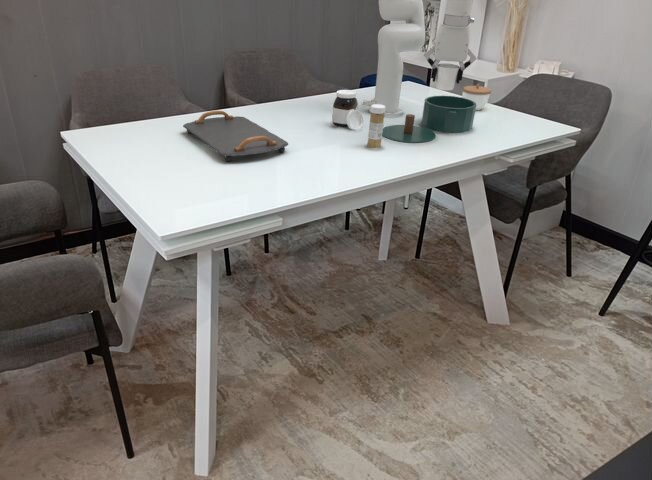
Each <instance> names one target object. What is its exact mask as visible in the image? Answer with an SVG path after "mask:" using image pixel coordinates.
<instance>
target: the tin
mask: <svg viewBox="0 0 652 480" xmlns="http://www.w3.org/2000/svg"><path fill="white" fill-rule="evenodd" d="M423 102H424V103H423V109H422V114H421V121H420V123H421V127H423V128H426V129H429V130H431V131H433V132H437V133H445V134H446V133H447V134H462V133H463V134H464V133H467V132H470V131H471V130H473V125H474V120H475V115H476V111H477V110H476V103H475V102H474V101H472V100H469V99H466V98H462V96H455V95H433V96H428V97H426V98H424V101H423Z"/></svg>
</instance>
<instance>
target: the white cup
mask: <svg viewBox="0 0 652 480" xmlns="http://www.w3.org/2000/svg"><path fill="white" fill-rule="evenodd" d="M459 67H460V65H458V64H453V63H438V65H437V74H436V80H435V89H436V90H440V91H453V90H454V88H455V84H456V78H457V74H458V70H459Z"/></svg>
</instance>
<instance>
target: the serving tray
mask: <svg viewBox="0 0 652 480" xmlns="http://www.w3.org/2000/svg"><path fill="white" fill-rule="evenodd" d="M217 115H218V116H219V117H218V116H217ZM220 115H221V116H220ZM211 116H216V117H211ZM207 117H210V118H207ZM182 128H184V129H186V132H187V134H191V135H193V136H195V137H196V138H197V139H199V140H200V141H202V142H203V143H205V145H207V146H208V147H210V148H211V149H213V151H215V152H217V153H218V154H219V155H220V156H224V157H225V158H224V159H225V161H226V163H232V161H233V157H238V156H251V155H259V154H264V153H265V154H266V153H269V152H274V151H278V153H280V154H284V152H286V148H285V147H288V146H289V142H288V141H287V140H285V139H283V138H281V137H280V136H278V135H277V134H274V133H273V132H270V130H268V129H266V128H264V127H263V126H260V125H259V124H258V123H256V122H254V121H252V120H250V119H248V118H247V117H244V116H234V115H232V114H231V115H229V113H227V112H226V111H224V110H211V111H210V110H209V111H207V112H204V113H202V114H201V115H200V116H199V118H197V119H195V120H194V121H191V122H186V123H184V124H183V125H182Z"/></svg>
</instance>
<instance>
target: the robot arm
mask: <svg viewBox="0 0 652 480" xmlns="http://www.w3.org/2000/svg"><path fill="white" fill-rule="evenodd" d="M473 2H474V0H446V3H445V9H444V15H443V21H442V24H439V27H438V29H437V30H438V31H437V34H436V38H435V43H434V45H433V46H432V47H431V48H430V49H428V50H427V51H425V52H424V54H423V56H424V58H425V60H426V61H427V63H428V64H429V65H430V67H431V73H430V79H432V82H433V83H434V82H435V83H436V77H437V65H438V64H440V62H441V61H443V62H456V63H458V64H459V65H458V66H459V70H458V74H457V77H456V81H455V84H457V85H458V84H460V81H462V80H463V75H464V71H465V70H466V69H467V68H468V67H470V66H471V64H473V63H474V62H475V61H476V60H477V56H476V55H475V53H473V52H472V50H471V49H470V40H471V39H470V38H471V26H469V25H470V24H474V23H475V18H474V17H471V14H472V7H473ZM378 10H379V16H380V18H381V19H382V20H384V21H387V22H393V21H394V22H401V23H389V24H385V25H383V26H382V27H381V28H380V29H379V31H378V33H377V51H378V57H377V67H376V68H377V71H376V81H375V91H374V97H373V99H371V100H367V99H362V102H361V103H362V104H361V106H364V107H369V109H368V112H369V113H370V114H371V112H370V109H371V105H374V104H381V105H384V106H385V114H384V117H385V116H386V117H393V116H401V115H402V114H403V110H402V108H400V107H399V106H400V99H401V91H402V83H403V82H402V81H403V76H404V75H403V74H404V61H403V59H402V56H401V55H400V53H405V52H407V53H409V52H417V51H419V50H421V49H422V48H423V47H424V46H425V42H426V24H425V22H426V21H425V10H424V2H423V0H378ZM402 21H404V22H405V23H402ZM432 54H433V58H434V60H433V59H432V58H431V55H432ZM468 57H469V58H468ZM467 59H468V60H467Z"/></svg>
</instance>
